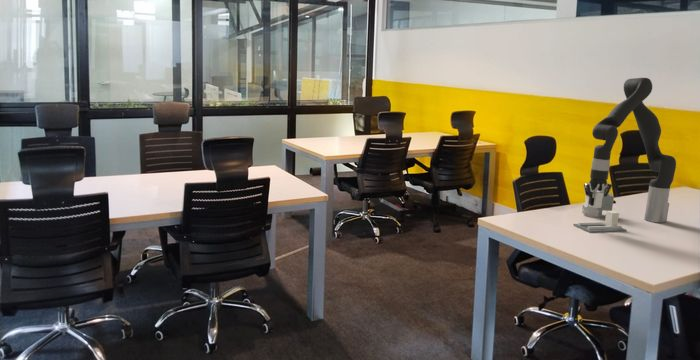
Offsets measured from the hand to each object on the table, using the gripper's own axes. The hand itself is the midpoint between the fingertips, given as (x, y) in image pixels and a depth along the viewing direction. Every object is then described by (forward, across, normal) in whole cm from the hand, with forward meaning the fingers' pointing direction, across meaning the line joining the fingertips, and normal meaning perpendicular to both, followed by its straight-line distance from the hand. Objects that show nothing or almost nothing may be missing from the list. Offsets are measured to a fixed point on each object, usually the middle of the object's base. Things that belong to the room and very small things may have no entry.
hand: (595, 205), depth 281 cm
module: (+1, 0, 0) cm, 1 cm away
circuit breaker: (+11, -20, -22) cm, 32 cm away
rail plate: (+11, -4, 0) cm, 12 cm away
